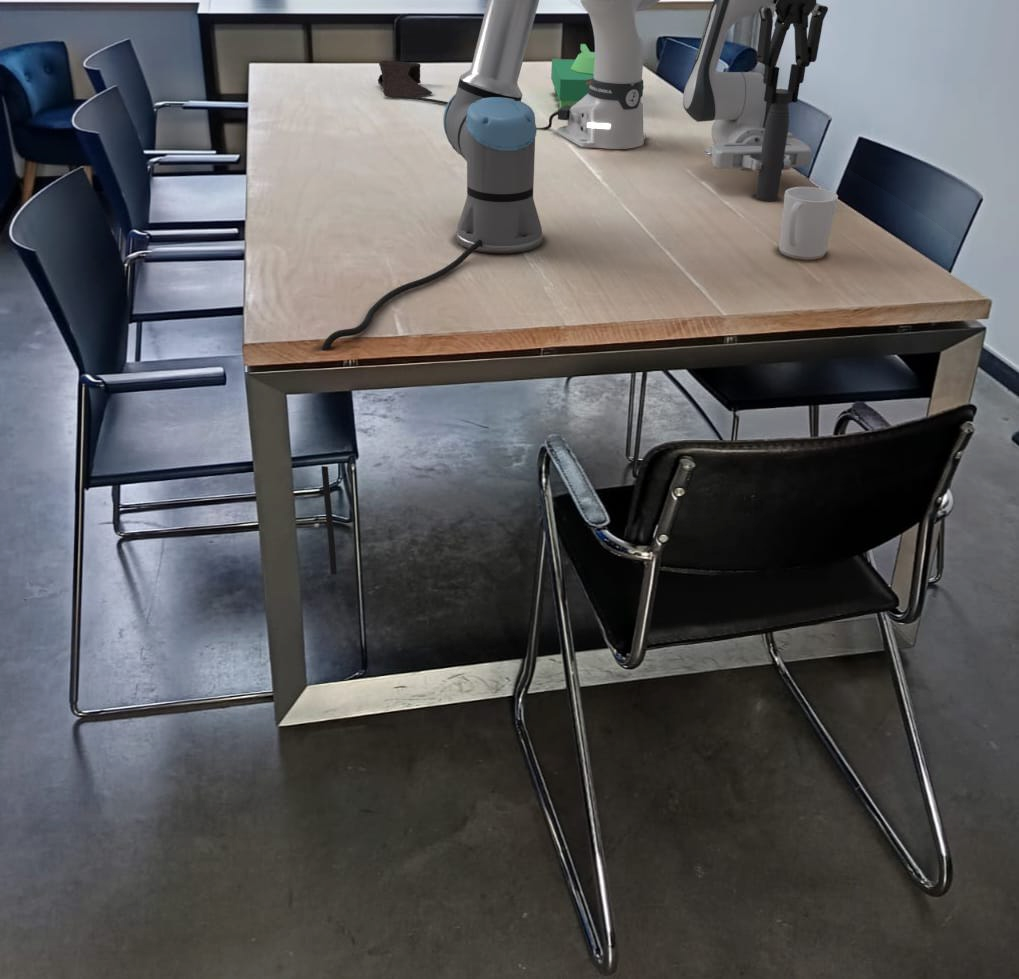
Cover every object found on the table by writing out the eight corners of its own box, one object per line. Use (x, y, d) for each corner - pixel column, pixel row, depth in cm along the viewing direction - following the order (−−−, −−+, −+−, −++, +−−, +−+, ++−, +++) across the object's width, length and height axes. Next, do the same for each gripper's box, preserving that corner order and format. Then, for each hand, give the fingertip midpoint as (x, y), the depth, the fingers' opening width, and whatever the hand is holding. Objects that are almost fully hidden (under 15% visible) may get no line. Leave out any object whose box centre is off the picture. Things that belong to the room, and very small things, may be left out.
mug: (790, 240, 199) (799, 183, 193) (836, 251, 194) (846, 193, 188) (761, 255, 191) (769, 197, 186) (808, 267, 186) (818, 208, 181)
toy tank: (613, 40, 304) (631, 65, 274) (610, 86, 310) (627, 115, 281) (550, 39, 303) (561, 63, 273) (548, 85, 309) (558, 114, 280)
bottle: (752, 199, 221) (767, 94, 210) (758, 193, 224) (773, 89, 213) (774, 202, 219) (790, 96, 208) (780, 196, 222) (796, 92, 212)
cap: (767, 102, 210) (768, 92, 210) (770, 97, 214) (772, 88, 213) (790, 104, 209) (791, 94, 208) (793, 99, 213) (794, 90, 212)
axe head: (443, 87, 294) (392, 77, 287) (436, 115, 299) (385, 106, 292) (421, 62, 307) (371, 52, 300) (414, 89, 311) (365, 80, 304)
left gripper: (768, -29, 194) (750, 108, 206) (852, -30, 199) (829, 103, 211) (747, -33, 200) (731, 99, 212) (829, -35, 205) (808, 95, 217)
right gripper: (703, 133, 226) (724, 151, 214) (798, 132, 229) (823, 149, 217) (700, 164, 229) (720, 183, 218) (793, 162, 232) (818, 180, 220)
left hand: (780, 101), depth 212 cm, fingers closed on cap, 4 cm apart
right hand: (773, 166), depth 217 cm, fingers closed on bottle, 4 cm apart
